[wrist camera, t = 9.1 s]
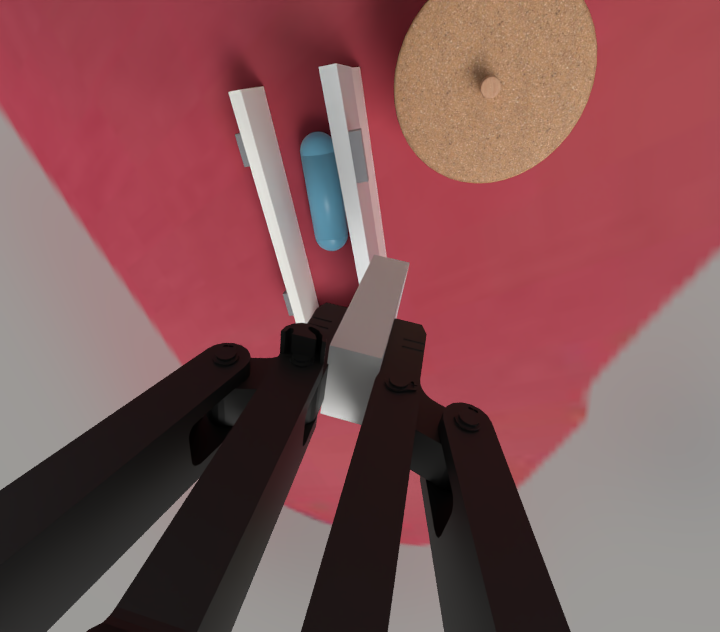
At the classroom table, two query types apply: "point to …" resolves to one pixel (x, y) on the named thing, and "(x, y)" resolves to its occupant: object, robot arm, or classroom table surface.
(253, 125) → the white latched case
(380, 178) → the classroom table surface
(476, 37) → the lidded jar
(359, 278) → the cover
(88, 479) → the robot arm
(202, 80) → the classroom table surface
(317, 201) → the blue pill shape
